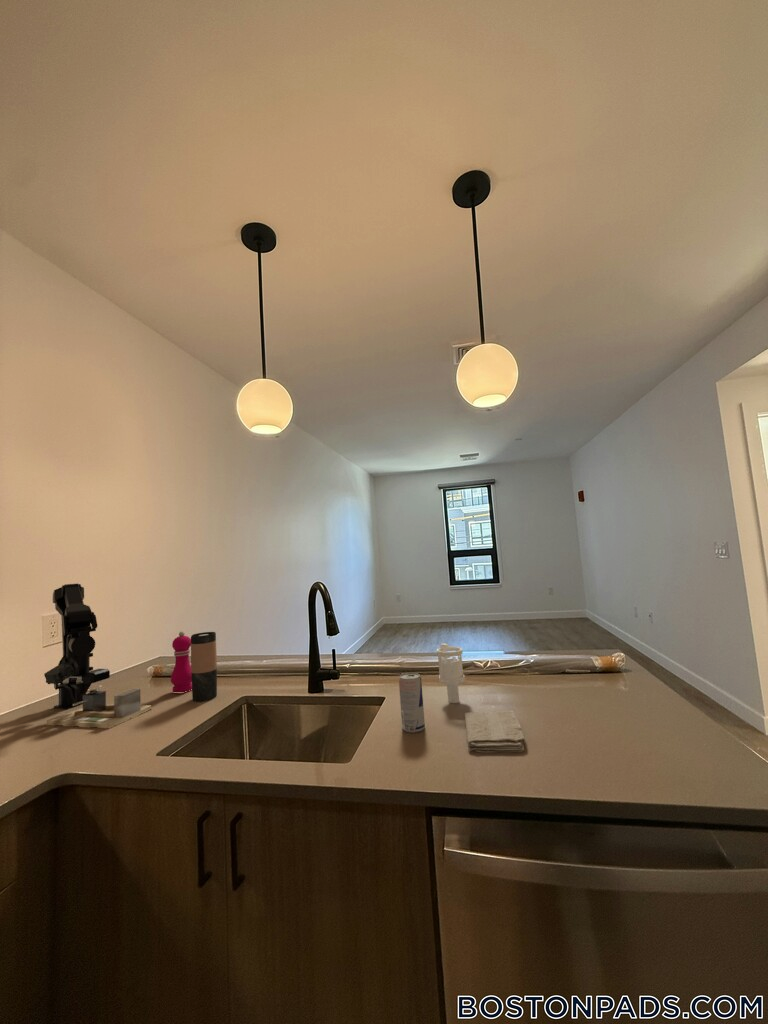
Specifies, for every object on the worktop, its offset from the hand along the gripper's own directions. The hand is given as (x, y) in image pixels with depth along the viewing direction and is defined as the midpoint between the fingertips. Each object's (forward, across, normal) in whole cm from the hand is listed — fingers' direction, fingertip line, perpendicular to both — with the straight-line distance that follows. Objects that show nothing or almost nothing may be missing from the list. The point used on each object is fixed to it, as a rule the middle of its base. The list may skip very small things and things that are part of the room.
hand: (77, 705), depth 126 cm
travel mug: (+3, +30, +18) cm, 36 cm away
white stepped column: (+3, +110, +21) cm, 112 cm away
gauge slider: (+2, +7, -2) cm, 7 cm away
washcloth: (+4, +121, +1) cm, 121 cm away
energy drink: (+3, +102, +2) cm, 103 cm away
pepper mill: (+3, +16, +24) cm, 29 cm away
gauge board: (+3, +9, 0) cm, 9 cm away
